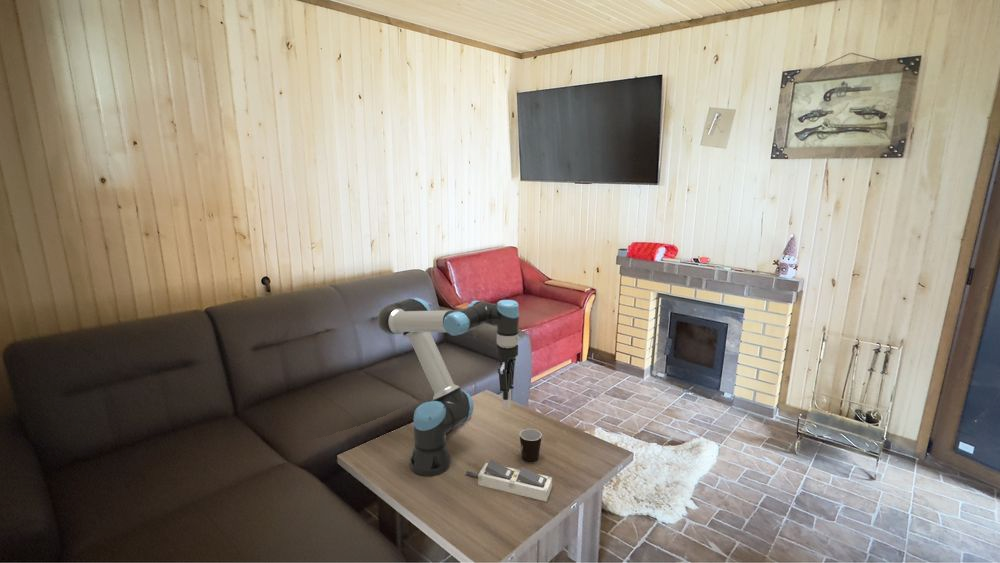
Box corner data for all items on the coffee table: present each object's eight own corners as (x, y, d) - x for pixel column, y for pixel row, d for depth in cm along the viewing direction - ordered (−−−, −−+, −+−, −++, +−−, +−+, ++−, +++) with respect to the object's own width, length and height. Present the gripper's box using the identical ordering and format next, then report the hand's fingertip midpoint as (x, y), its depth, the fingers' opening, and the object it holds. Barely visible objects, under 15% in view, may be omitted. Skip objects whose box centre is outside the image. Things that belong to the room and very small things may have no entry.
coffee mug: (539, 465, 179) (540, 441, 177) (517, 462, 181) (517, 439, 178) (543, 448, 190) (543, 426, 188) (522, 445, 192) (522, 423, 189)
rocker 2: (516, 478, 163) (518, 473, 163) (520, 471, 168) (522, 466, 167) (541, 490, 161) (542, 485, 160) (544, 482, 165) (546, 477, 165)
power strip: (462, 481, 169) (462, 469, 168) (471, 468, 177) (471, 456, 176) (546, 501, 159) (546, 489, 158) (552, 487, 167) (552, 475, 165)
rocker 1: (484, 470, 167) (486, 466, 166) (489, 463, 171) (491, 458, 171) (507, 483, 165) (509, 478, 164) (511, 475, 169) (513, 470, 169)
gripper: (511, 352, 157) (510, 416, 162) (523, 339, 169) (521, 400, 174) (490, 349, 159) (490, 412, 165) (503, 337, 171) (502, 396, 177)
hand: (506, 406), depth 169 cm, fingers closed
